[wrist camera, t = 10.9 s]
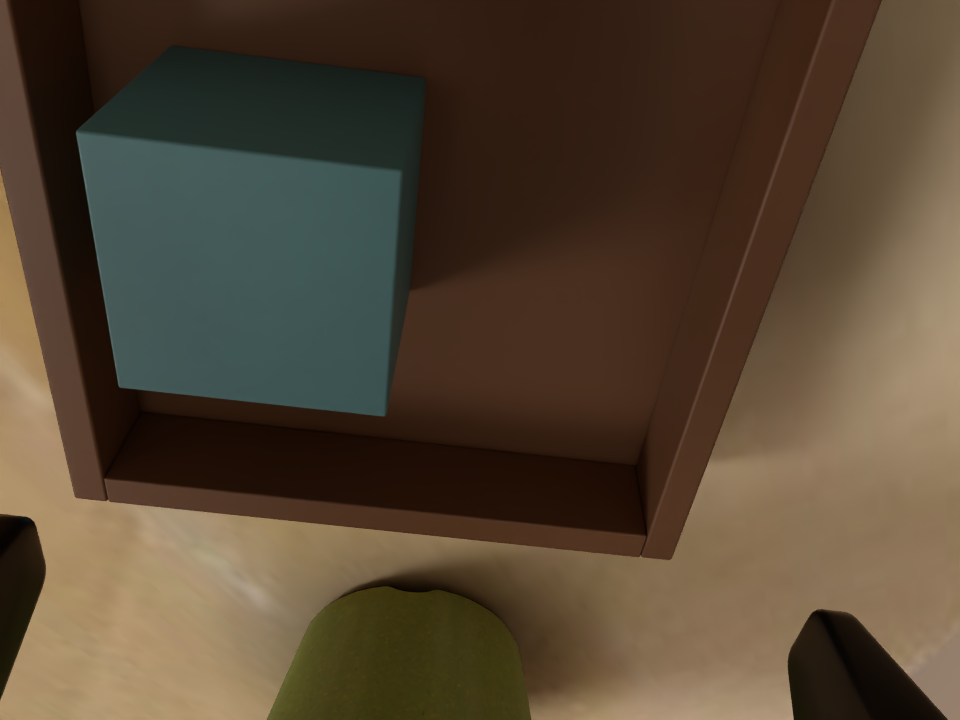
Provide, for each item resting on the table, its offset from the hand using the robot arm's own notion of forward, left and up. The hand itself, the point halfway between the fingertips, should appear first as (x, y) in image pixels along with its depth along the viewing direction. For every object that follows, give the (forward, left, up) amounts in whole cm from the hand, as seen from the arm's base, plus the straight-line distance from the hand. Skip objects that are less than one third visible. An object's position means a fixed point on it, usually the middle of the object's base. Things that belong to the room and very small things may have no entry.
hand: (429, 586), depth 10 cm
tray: (+1, 0, -11) cm, 11 cm away
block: (+4, 0, -10) cm, 11 cm away
